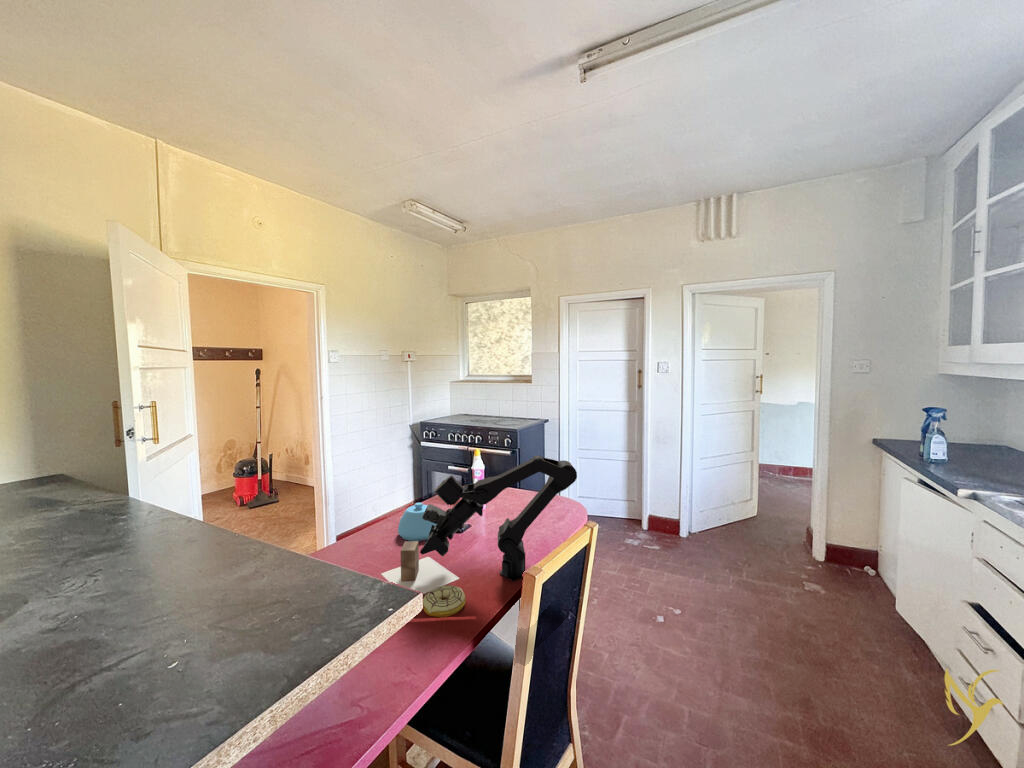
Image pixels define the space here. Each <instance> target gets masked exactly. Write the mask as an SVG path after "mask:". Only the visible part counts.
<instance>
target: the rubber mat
mask: <svg viewBox="0 0 1024 768" xmlns="http://www.w3.org/2000/svg"><path fill="white" fill-rule="evenodd" d="M380 575H381V576H382V577H383V578H385V580H387V581H388V582H389V583H390V582H393V583H395V584H399V585H401V586H404V587H407V588H410V589H413V590H416V591H420V592H422V593H423V595H426V594H427V593H429V592H430V591H431V590H433V589H435V588H437V587H441V586H445V585H448V584H450V583H451V584H452V583H453V582H455V581H457V580H460V579H461V578H460V577H458V576H457V575H456V574H454V573H452V571H450V570H448V569H447V568H446V567H444V566H443V565H441V564H440V563H439V562H437V561H436V560H434V559H433V558H432V557H430V556H426V557H423V558H421V559H420V558H419V572H418V575H417V578H416V581H403V582H401V566H399V567H396V568H392V569H390V570H387V571H385V572H382V573H380Z"/></svg>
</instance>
